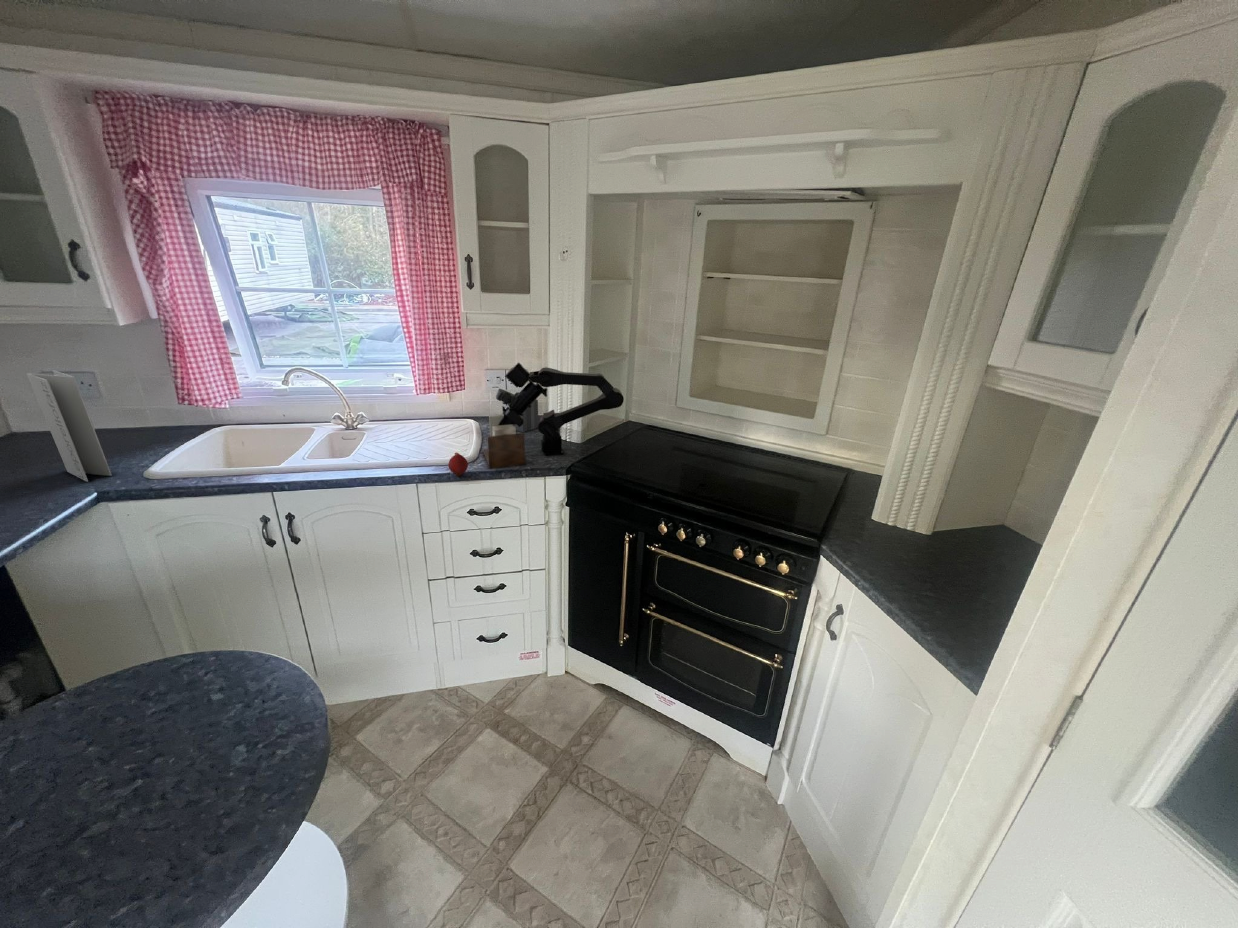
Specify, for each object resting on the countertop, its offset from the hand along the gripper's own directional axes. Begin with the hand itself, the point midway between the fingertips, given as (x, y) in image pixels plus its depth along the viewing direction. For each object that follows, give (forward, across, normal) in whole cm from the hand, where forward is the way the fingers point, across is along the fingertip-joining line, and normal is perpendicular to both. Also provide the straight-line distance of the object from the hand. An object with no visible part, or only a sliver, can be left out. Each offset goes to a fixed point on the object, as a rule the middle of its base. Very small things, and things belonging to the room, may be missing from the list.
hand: (496, 428), depth 173 cm
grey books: (-2, -29, +16) cm, 33 cm away
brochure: (+91, -6, -79) cm, 121 cm away
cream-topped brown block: (+6, +4, +8) cm, 11 cm away
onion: (+16, +17, -2) cm, 23 cm away
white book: (+4, 0, +6) cm, 7 cm away
